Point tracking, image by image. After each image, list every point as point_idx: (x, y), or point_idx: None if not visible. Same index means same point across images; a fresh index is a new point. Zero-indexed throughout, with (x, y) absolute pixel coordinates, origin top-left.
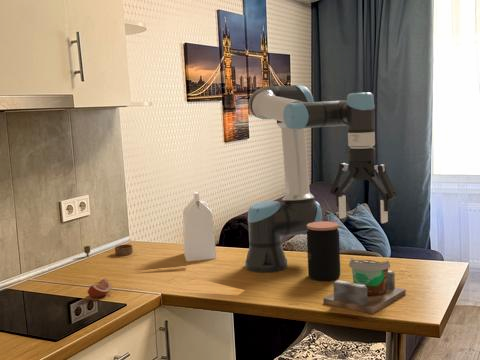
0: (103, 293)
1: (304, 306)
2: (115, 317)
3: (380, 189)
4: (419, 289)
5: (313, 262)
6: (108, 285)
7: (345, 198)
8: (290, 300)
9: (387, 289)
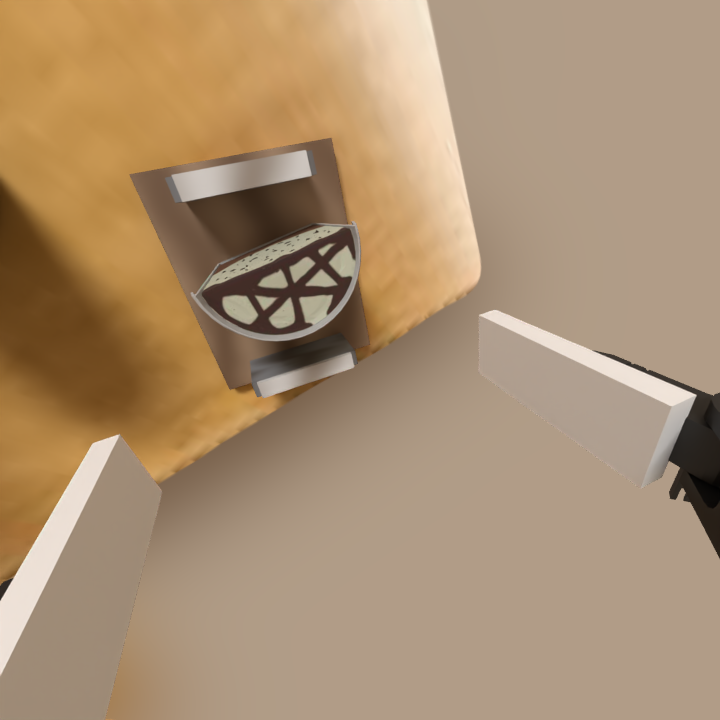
0: None
1: (219, 427)
2: None
3: None
4: (325, 41)
5: None
6: None
7: (9, 661)
8: (151, 434)
9: (291, 186)
